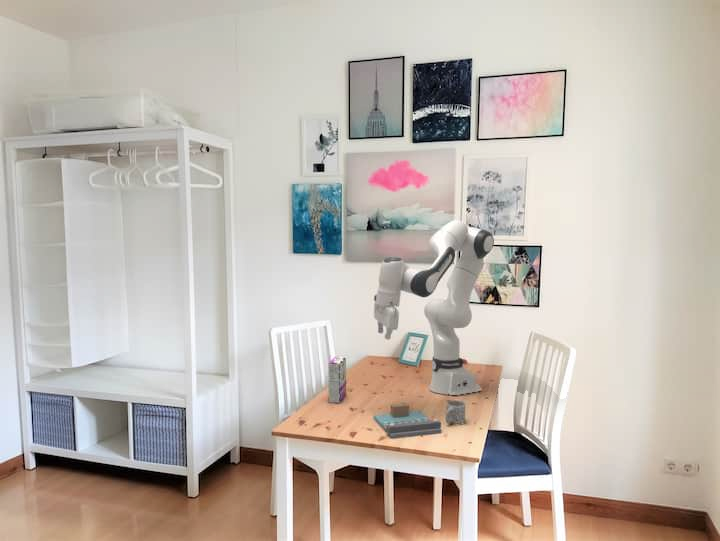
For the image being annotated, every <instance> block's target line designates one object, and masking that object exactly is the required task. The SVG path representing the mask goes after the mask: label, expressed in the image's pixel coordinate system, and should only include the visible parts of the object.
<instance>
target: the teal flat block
mask: <svg viewBox="0 0 720 541" xmlns="http://www.w3.org/2000/svg"><path fill="white" fill-rule="evenodd" d="M373 419H374V420H375V422H376V423H377V424H378V425H379V426H380V427H381V428H382V424H390V423H399V422H409V421H419V420H430V418H428V417H427V416H426V414H424V413H423V412H422V411H420V410H413V411H410V404H408V403H407V402H402V403H391V404H390V413H383V414H373Z"/></svg>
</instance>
